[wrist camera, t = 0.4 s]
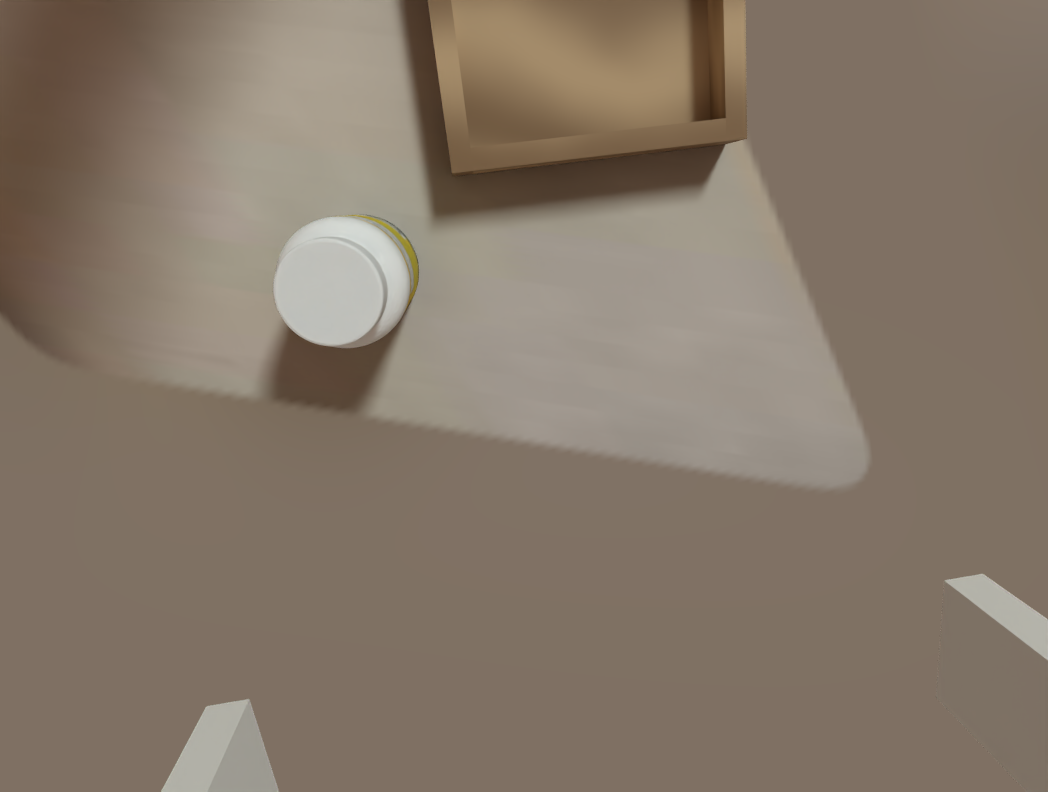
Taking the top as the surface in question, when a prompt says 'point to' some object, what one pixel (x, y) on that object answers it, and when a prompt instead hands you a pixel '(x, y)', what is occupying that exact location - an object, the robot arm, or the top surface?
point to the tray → (587, 78)
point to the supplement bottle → (345, 280)
